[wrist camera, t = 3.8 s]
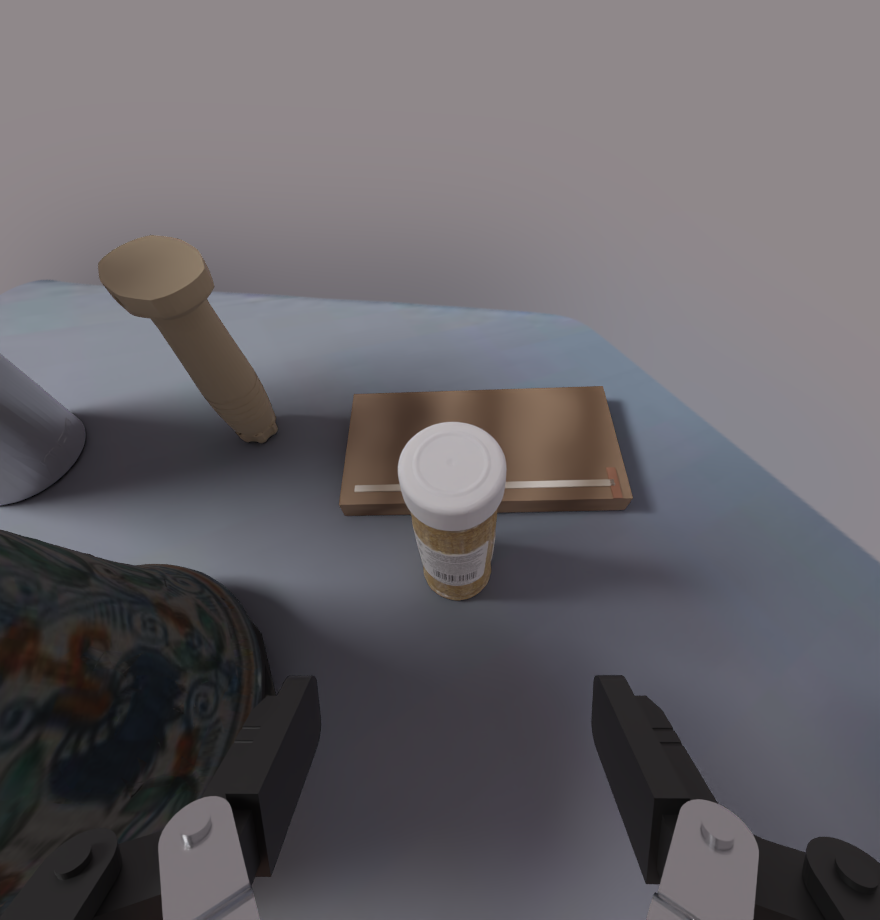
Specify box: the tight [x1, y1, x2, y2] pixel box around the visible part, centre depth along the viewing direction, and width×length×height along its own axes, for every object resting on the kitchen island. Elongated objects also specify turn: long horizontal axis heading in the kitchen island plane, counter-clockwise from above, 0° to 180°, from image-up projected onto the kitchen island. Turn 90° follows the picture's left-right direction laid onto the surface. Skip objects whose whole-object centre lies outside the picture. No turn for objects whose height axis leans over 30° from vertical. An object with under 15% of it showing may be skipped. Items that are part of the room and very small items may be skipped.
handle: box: [98, 235, 278, 443], centre depth 30 cm, size 5×6×15 cm
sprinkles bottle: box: [398, 422, 507, 600], centre depth 23 cm, size 5×5×14 cm
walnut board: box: [339, 386, 633, 516], centre depth 33 cm, size 20×10×2 cm, turn 90°
